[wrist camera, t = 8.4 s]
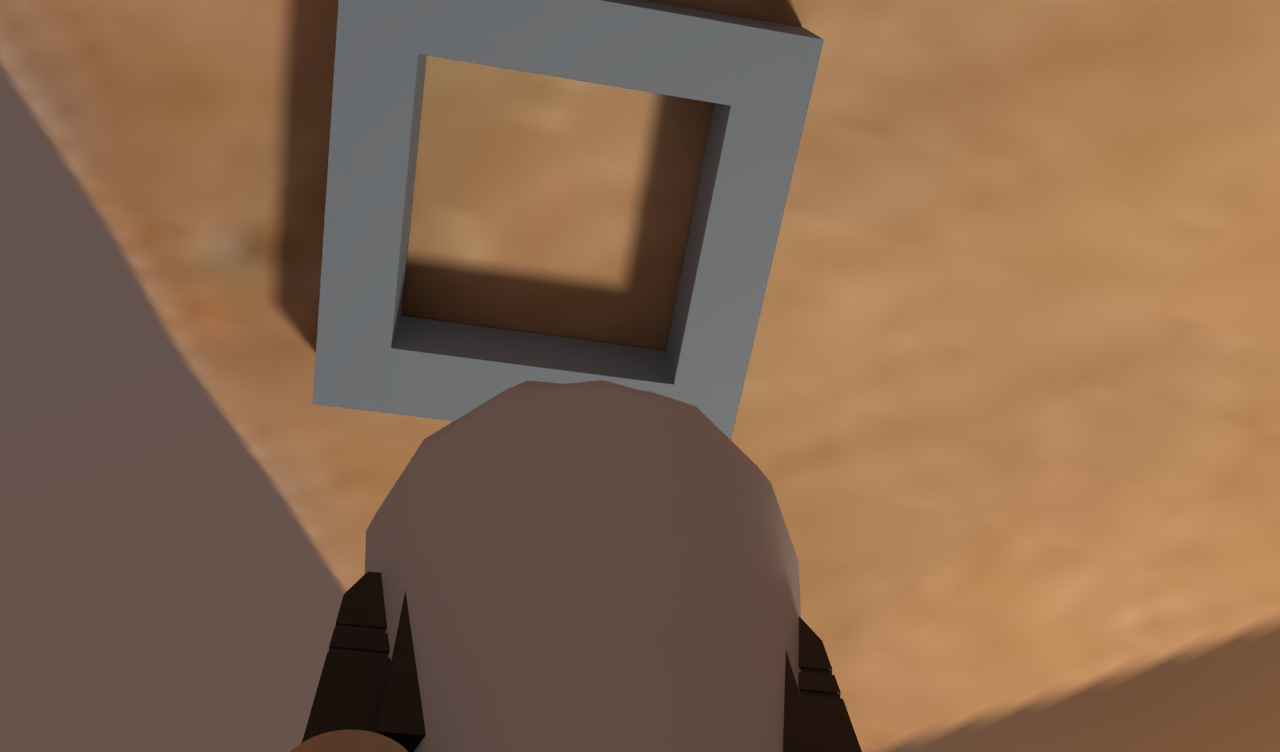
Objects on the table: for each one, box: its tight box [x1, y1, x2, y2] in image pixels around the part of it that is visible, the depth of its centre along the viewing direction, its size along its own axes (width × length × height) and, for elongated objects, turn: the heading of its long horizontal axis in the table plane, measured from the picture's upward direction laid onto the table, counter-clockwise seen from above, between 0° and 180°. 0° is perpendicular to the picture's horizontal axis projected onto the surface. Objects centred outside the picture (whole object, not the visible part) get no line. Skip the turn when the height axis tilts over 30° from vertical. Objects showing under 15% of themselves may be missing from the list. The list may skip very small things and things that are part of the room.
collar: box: [313, 0, 823, 440], centre depth 31 cm, size 12×12×2 cm
